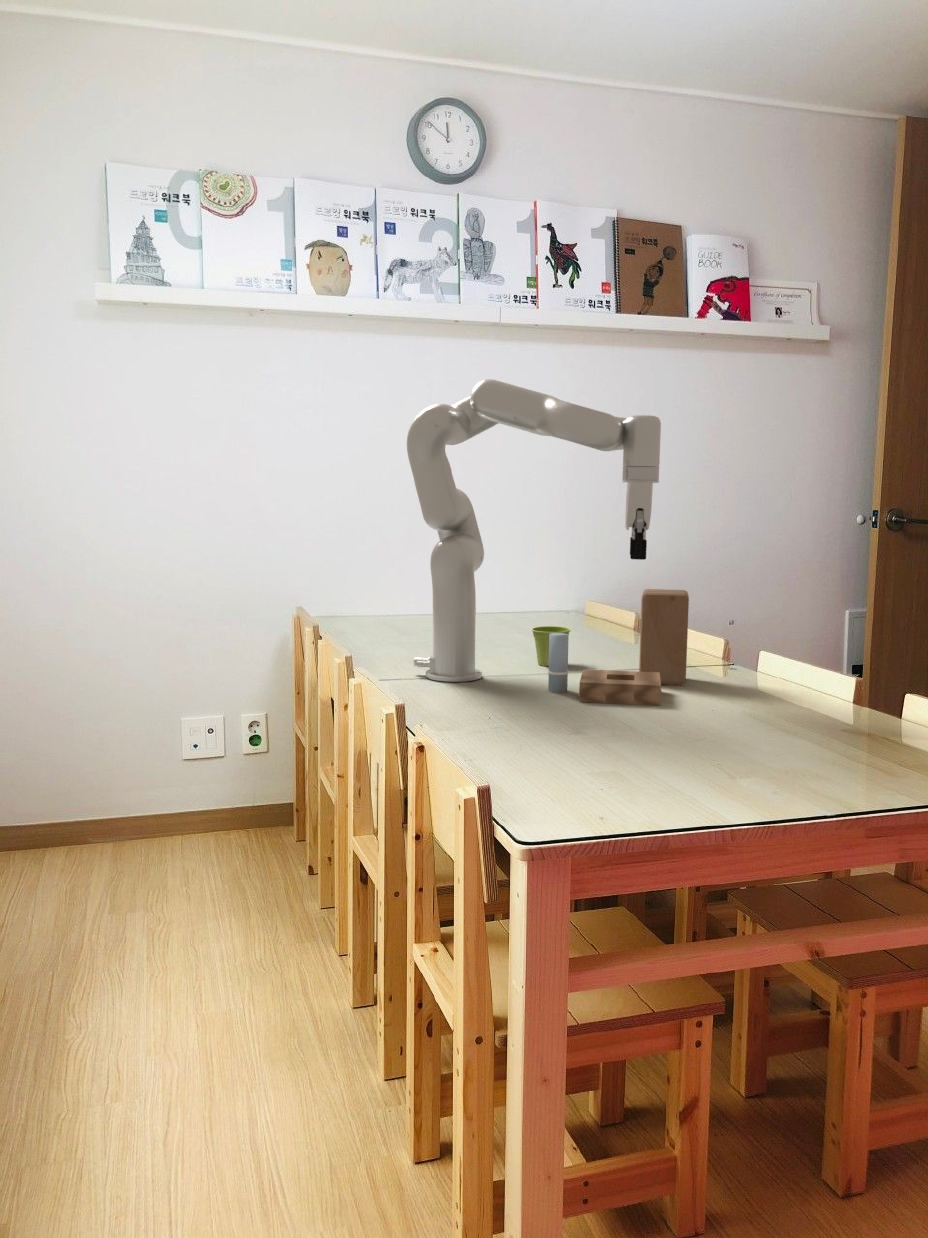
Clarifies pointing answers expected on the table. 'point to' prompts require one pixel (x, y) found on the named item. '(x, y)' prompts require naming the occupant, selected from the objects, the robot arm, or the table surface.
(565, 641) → the peg
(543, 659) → the plant pot
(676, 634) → the wooden block
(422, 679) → the table surface
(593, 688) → the seat block
